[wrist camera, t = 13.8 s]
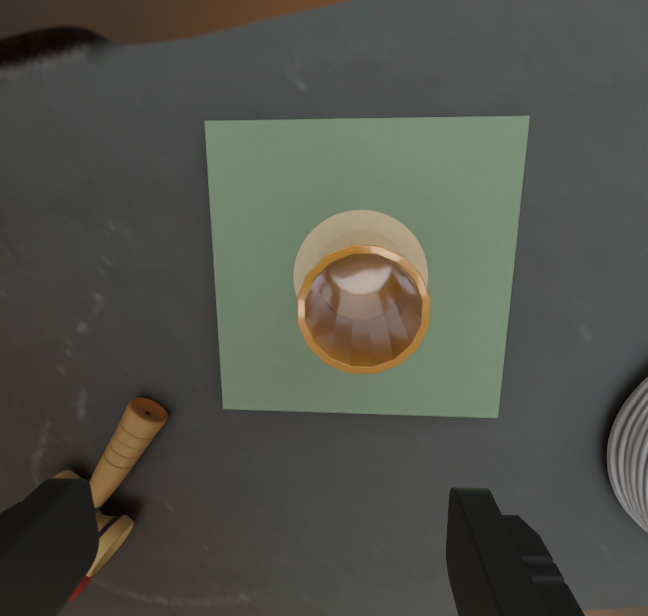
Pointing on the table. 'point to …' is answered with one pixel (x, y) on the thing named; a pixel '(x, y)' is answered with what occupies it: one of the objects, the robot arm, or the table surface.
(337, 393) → the mat
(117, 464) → the kendama
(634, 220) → the table surface
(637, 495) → the cable
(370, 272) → the cup
